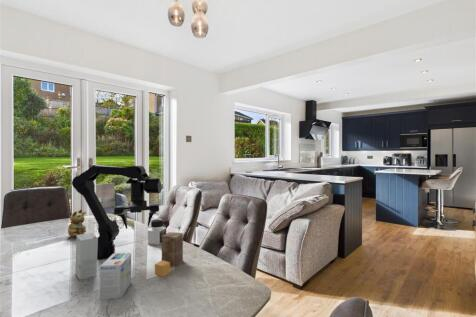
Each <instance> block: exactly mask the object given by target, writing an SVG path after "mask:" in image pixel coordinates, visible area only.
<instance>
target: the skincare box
mask: <svg viewBox="0 0 476 317" xmlns="http://www.w3.org/2000/svg"><path fill="white" fill-rule="evenodd" d="M97 250H98V236H96V234H94V233H93V232H90V233H89V232H88V233H87V232H86V233H84V234H81V235H77V237H76V244H75V266H74V267H75V270H74V272H75V274H76V276H77V277H78V279H79V280H80V281H81V280H85V279H90V278H93V277H97V275H98V274H97V272H98V259H97Z"/></svg>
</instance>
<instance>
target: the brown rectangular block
mask: <svg viewBox="0 0 476 317" xmlns="http://www.w3.org/2000/svg"><path fill="white" fill-rule="evenodd" d="M183 237H184V233H183V232H176V231H175V232H173V231H172V232H171V231H169V232H166V234H165V235H163V236H162V244H161V261H162V260H163V261H167V262H170V267H175V268H176V267H177V266H179V264H180V263H183V260H184V249H183V248H184V238H183Z"/></svg>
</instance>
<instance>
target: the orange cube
mask: <svg viewBox="0 0 476 317" xmlns="http://www.w3.org/2000/svg"><path fill="white" fill-rule="evenodd" d="M170 273H171V266H170V262H167V261H163V260H162V259H161V260H160V261H159V262H156V263H154V275H156V276H160V277H165V276H166V275H168V274H170Z"/></svg>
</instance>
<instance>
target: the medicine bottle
mask: <svg viewBox="0 0 476 317" xmlns="http://www.w3.org/2000/svg"><path fill="white" fill-rule="evenodd" d="M165 234H167V227H164V219H161V218H156V219H155V218H154V219H153V220H152V219H151V221H150V229H148V230H147V245H157V246H160V245H162V236H163V235H165Z"/></svg>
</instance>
